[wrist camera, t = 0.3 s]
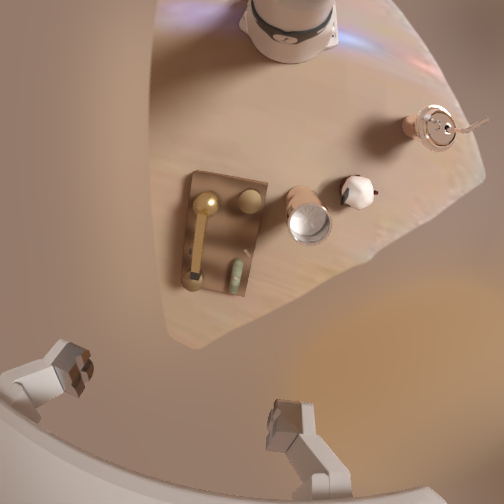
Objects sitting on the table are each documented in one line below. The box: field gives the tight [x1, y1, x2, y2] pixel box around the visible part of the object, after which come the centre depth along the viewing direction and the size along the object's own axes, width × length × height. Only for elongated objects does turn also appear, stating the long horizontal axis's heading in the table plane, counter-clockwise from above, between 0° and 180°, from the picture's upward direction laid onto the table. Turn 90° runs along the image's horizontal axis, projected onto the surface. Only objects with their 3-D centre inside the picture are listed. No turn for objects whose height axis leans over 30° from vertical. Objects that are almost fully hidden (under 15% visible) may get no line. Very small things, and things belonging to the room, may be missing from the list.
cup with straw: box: [402, 104, 489, 152], centre depth 36 cm, size 8×9×20 cm
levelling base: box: [181, 170, 268, 297], centre depth 55 cm, size 24×14×6 cm, turn 169°
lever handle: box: [190, 190, 221, 281], centre depth 52 cm, size 16×4×5 cm, turn 169°
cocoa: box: [340, 175, 378, 210], centre depth 47 cm, size 10×6×12 cm, turn 67°
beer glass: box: [285, 186, 332, 246], centre depth 47 cm, size 7×7×15 cm
